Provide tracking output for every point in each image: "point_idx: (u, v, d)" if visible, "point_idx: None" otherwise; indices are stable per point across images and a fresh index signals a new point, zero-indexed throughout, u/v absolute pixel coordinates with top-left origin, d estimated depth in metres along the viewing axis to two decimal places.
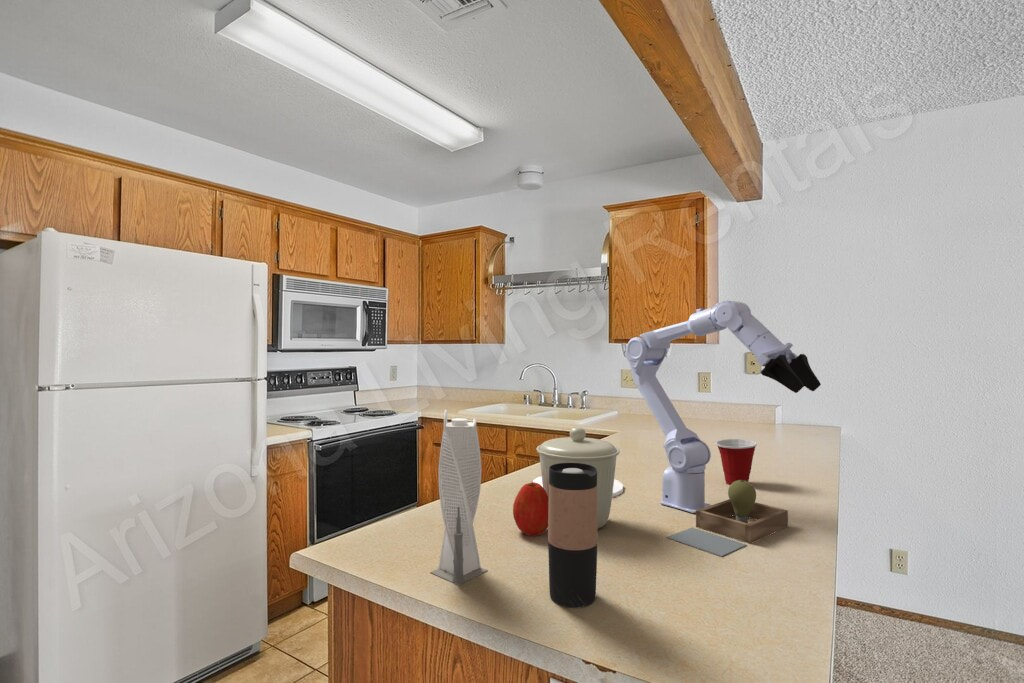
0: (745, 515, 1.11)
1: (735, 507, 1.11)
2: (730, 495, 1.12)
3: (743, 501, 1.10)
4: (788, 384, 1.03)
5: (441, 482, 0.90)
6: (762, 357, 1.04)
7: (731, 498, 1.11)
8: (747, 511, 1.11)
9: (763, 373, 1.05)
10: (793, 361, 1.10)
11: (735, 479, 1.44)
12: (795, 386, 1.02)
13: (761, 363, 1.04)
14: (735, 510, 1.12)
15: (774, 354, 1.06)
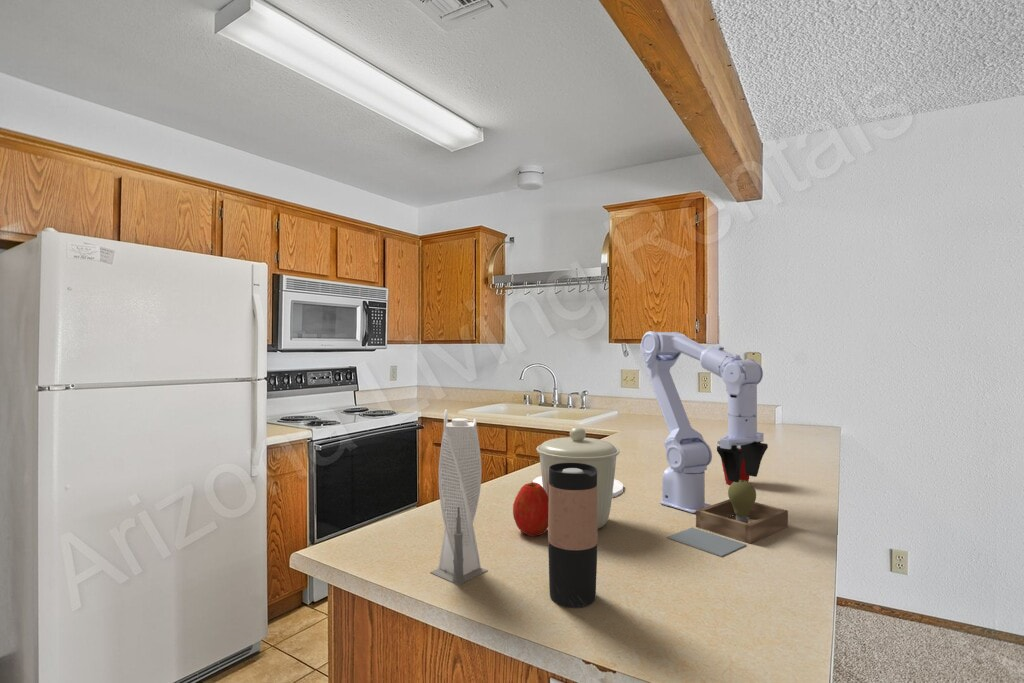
0: (745, 515, 1.11)
1: (735, 507, 1.11)
2: (730, 495, 1.12)
3: (743, 501, 1.10)
4: (728, 471, 1.10)
5: (441, 482, 0.90)
6: (726, 443, 1.07)
7: (731, 498, 1.11)
8: (747, 511, 1.11)
9: (718, 450, 1.10)
10: (754, 444, 1.14)
11: None
12: (732, 477, 1.09)
13: (722, 446, 1.08)
14: (735, 510, 1.12)
15: None
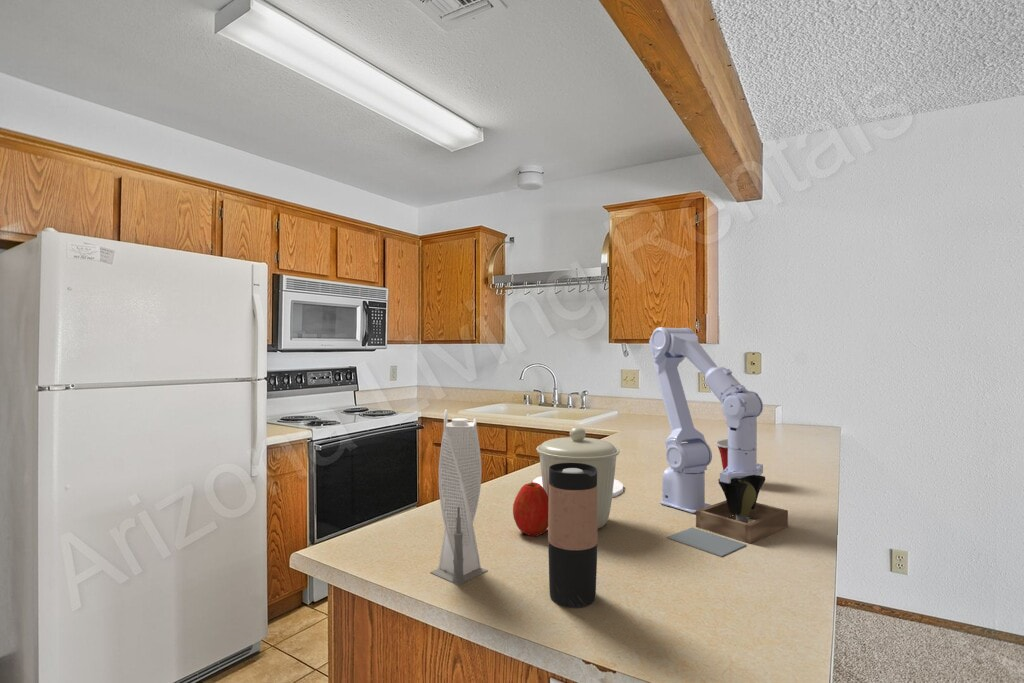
0: (745, 515, 1.11)
1: None
2: None
3: (743, 501, 1.10)
4: (730, 503, 1.11)
5: (441, 482, 0.90)
6: (726, 477, 1.07)
7: None
8: (747, 511, 1.11)
9: (719, 482, 1.11)
10: (751, 476, 1.13)
11: None
12: (734, 509, 1.10)
13: (721, 479, 1.08)
14: None
15: None
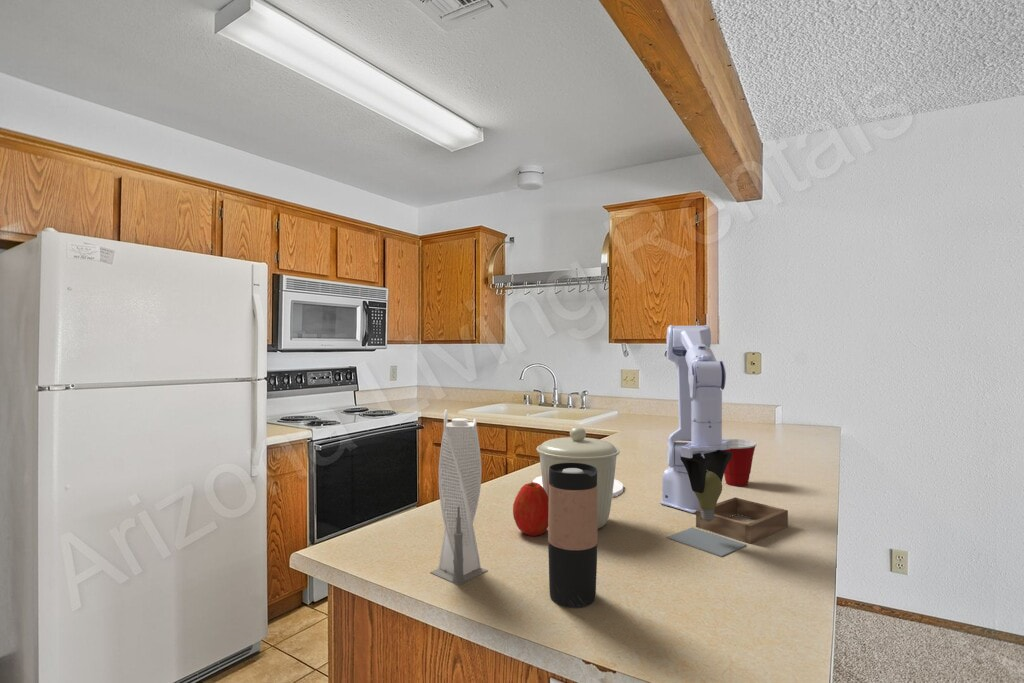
0: (710, 508, 1.02)
1: (699, 500, 1.03)
2: None
3: (707, 493, 1.01)
4: (692, 481, 1.02)
5: (441, 482, 0.90)
6: (687, 452, 0.99)
7: None
8: (712, 504, 1.02)
9: (681, 458, 1.02)
10: (717, 452, 1.05)
11: (735, 479, 1.44)
12: (696, 487, 1.02)
13: (682, 454, 1.00)
14: (700, 503, 1.03)
15: (702, 450, 1.01)
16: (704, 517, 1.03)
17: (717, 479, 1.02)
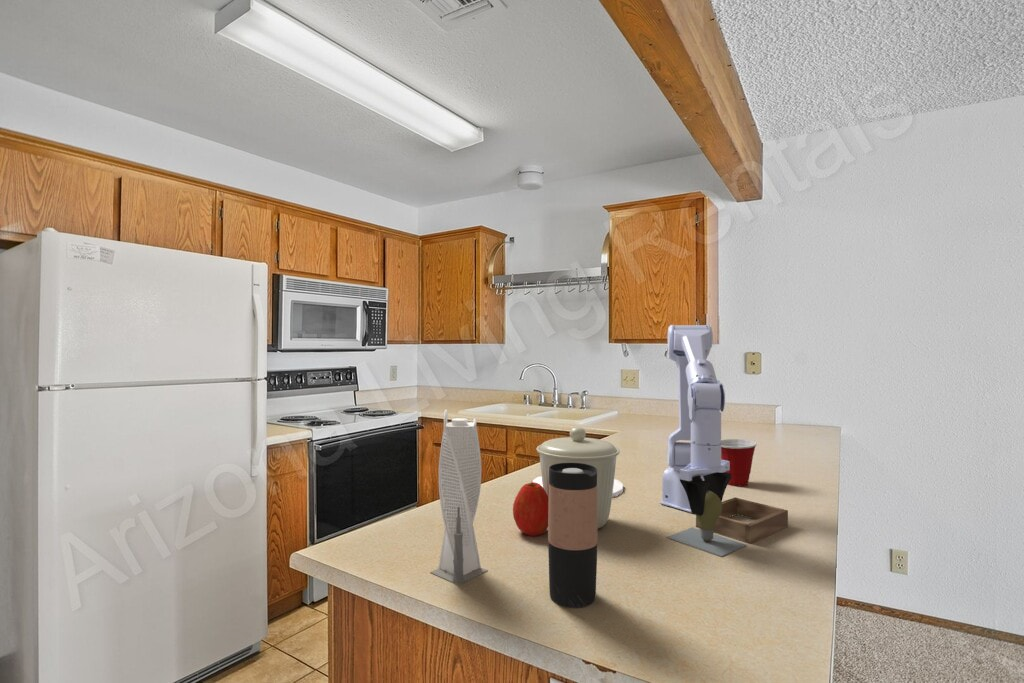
0: (709, 529, 1.02)
1: (699, 520, 1.03)
2: None
3: (707, 513, 1.01)
4: (692, 503, 1.02)
5: (441, 482, 0.90)
6: (686, 475, 0.99)
7: None
8: (711, 524, 1.02)
9: (680, 480, 1.02)
10: (716, 474, 1.05)
11: (735, 479, 1.44)
12: (696, 510, 1.01)
13: (682, 477, 1.00)
14: (699, 523, 1.03)
15: None
16: (703, 537, 1.03)
17: (717, 499, 1.02)
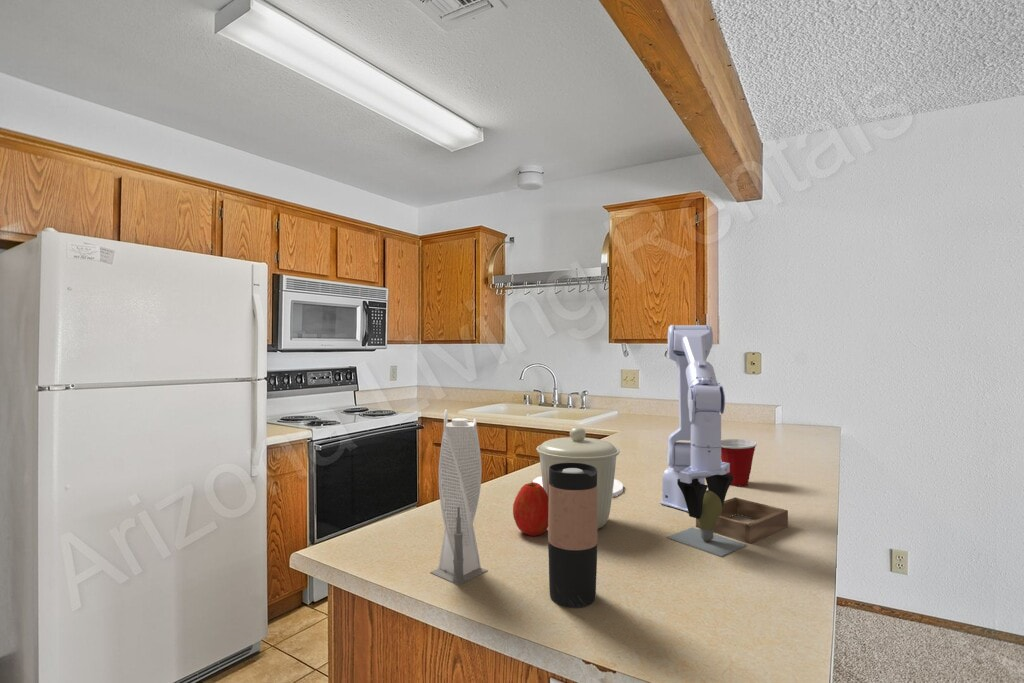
0: (710, 529, 1.02)
1: (699, 520, 1.03)
2: None
3: (707, 513, 1.01)
4: (689, 506, 1.01)
5: (441, 482, 0.90)
6: (686, 477, 0.99)
7: None
8: (711, 524, 1.02)
9: (678, 483, 1.02)
10: (718, 476, 1.05)
11: (735, 479, 1.44)
12: (693, 513, 1.01)
13: (682, 479, 1.00)
14: (699, 523, 1.03)
15: None
16: (703, 537, 1.03)
17: (717, 499, 1.02)
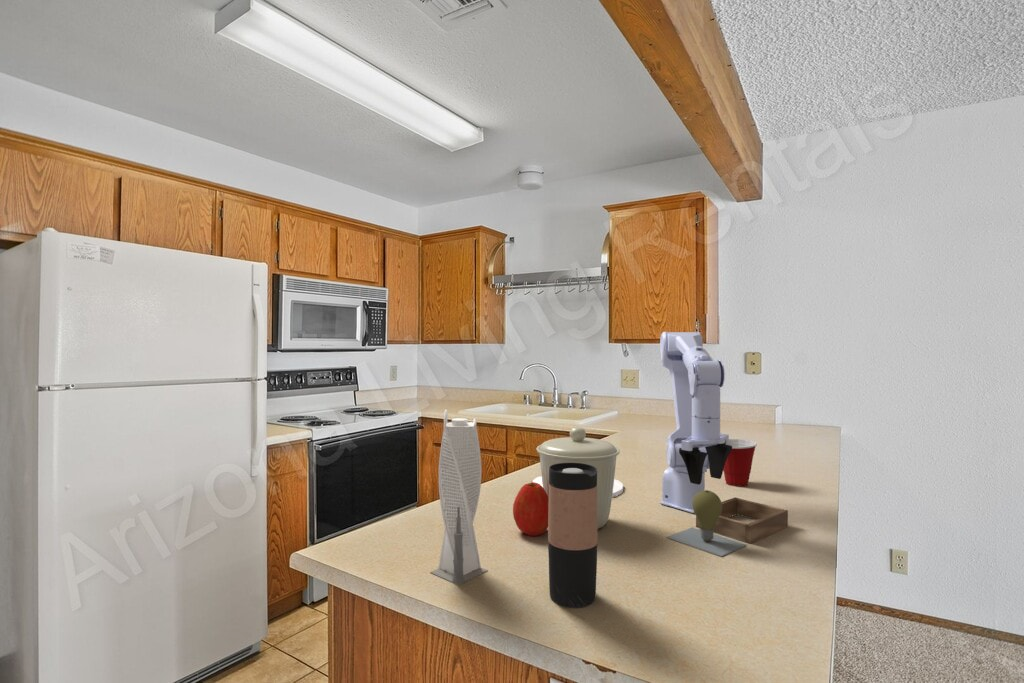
0: (710, 529, 1.02)
1: (699, 520, 1.03)
2: (694, 507, 1.03)
3: (707, 513, 1.01)
4: (690, 473, 1.09)
5: (441, 482, 0.90)
6: (687, 445, 1.06)
7: (695, 510, 1.03)
8: (711, 524, 1.02)
9: (680, 452, 1.09)
10: (718, 446, 1.12)
11: (735, 479, 1.44)
12: (694, 479, 1.08)
13: (683, 447, 1.07)
14: (699, 523, 1.03)
15: (701, 444, 1.07)
16: (703, 537, 1.03)
17: (717, 499, 1.02)
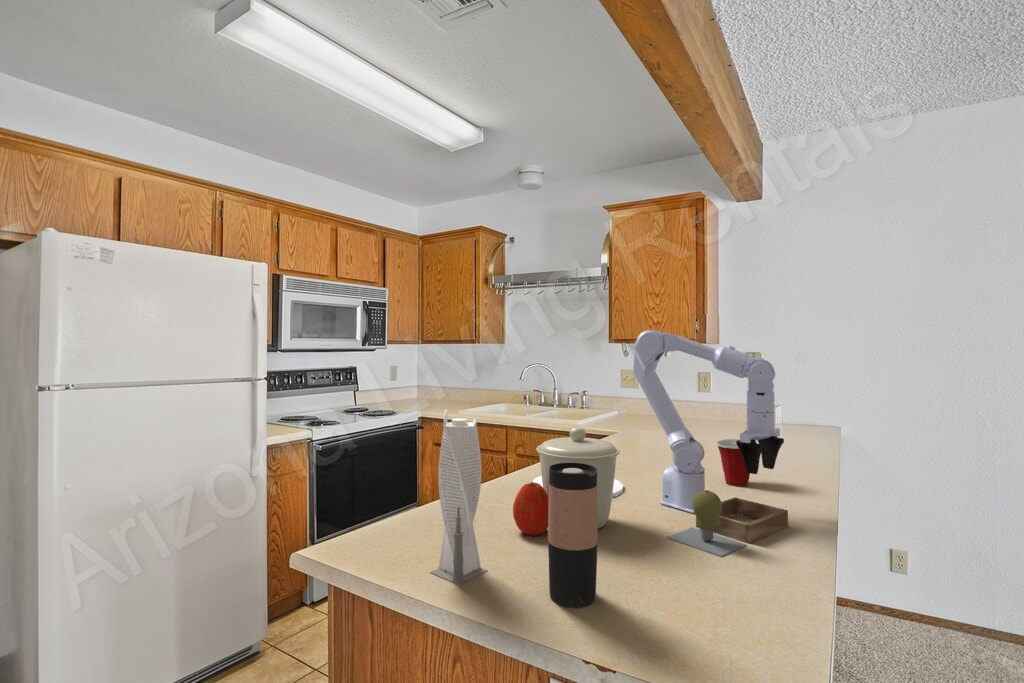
0: (710, 529, 1.02)
1: (699, 520, 1.03)
2: (694, 507, 1.03)
3: (707, 513, 1.01)
4: (747, 463, 1.17)
5: (441, 482, 0.90)
6: (746, 437, 1.14)
7: (695, 510, 1.03)
8: (711, 524, 1.02)
9: (737, 444, 1.17)
10: (771, 438, 1.21)
11: (735, 479, 1.44)
12: (751, 469, 1.16)
13: (741, 440, 1.15)
14: (699, 523, 1.03)
15: (758, 436, 1.16)
16: (703, 537, 1.03)
17: (717, 499, 1.02)
